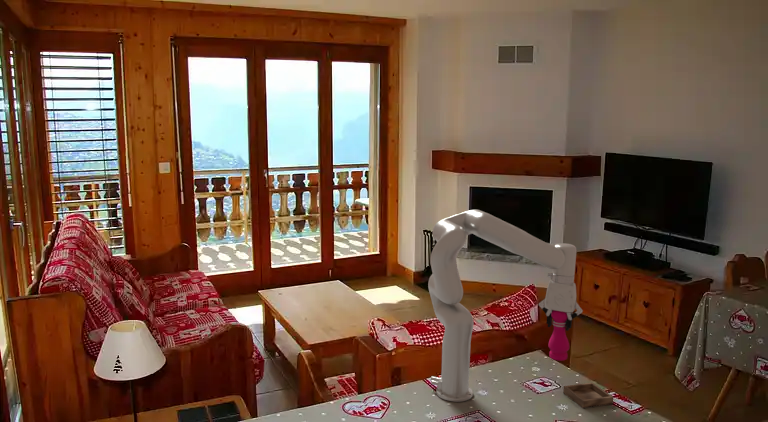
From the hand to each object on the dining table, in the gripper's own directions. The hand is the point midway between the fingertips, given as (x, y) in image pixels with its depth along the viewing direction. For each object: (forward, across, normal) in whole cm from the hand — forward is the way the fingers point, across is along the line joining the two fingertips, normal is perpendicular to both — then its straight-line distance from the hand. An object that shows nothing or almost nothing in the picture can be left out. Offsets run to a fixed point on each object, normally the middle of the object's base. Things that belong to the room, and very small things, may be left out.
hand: (558, 327), depth 213 cm
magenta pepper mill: (+11, +1, 0) cm, 11 cm away
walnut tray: (+21, +13, -5) cm, 25 cm away
